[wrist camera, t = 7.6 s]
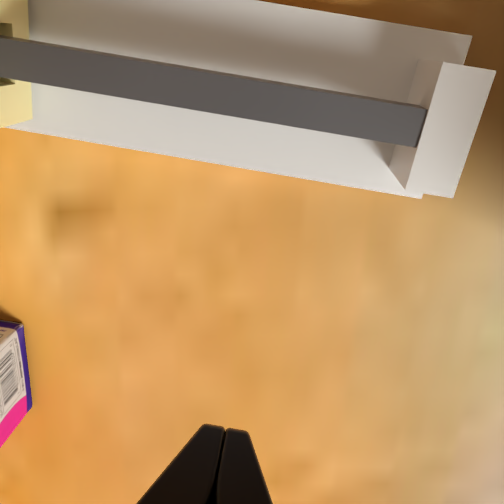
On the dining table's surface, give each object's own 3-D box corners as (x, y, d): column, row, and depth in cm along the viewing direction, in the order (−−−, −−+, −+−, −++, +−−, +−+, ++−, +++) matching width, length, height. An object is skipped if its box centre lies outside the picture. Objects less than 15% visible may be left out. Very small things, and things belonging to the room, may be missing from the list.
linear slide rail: (465, 36, 17) (522, 33, 13) (417, 193, 20) (451, 235, 15) (-122, -61, 18) (-262, -96, 13) (-98, 105, 20) (-208, 122, 16)
